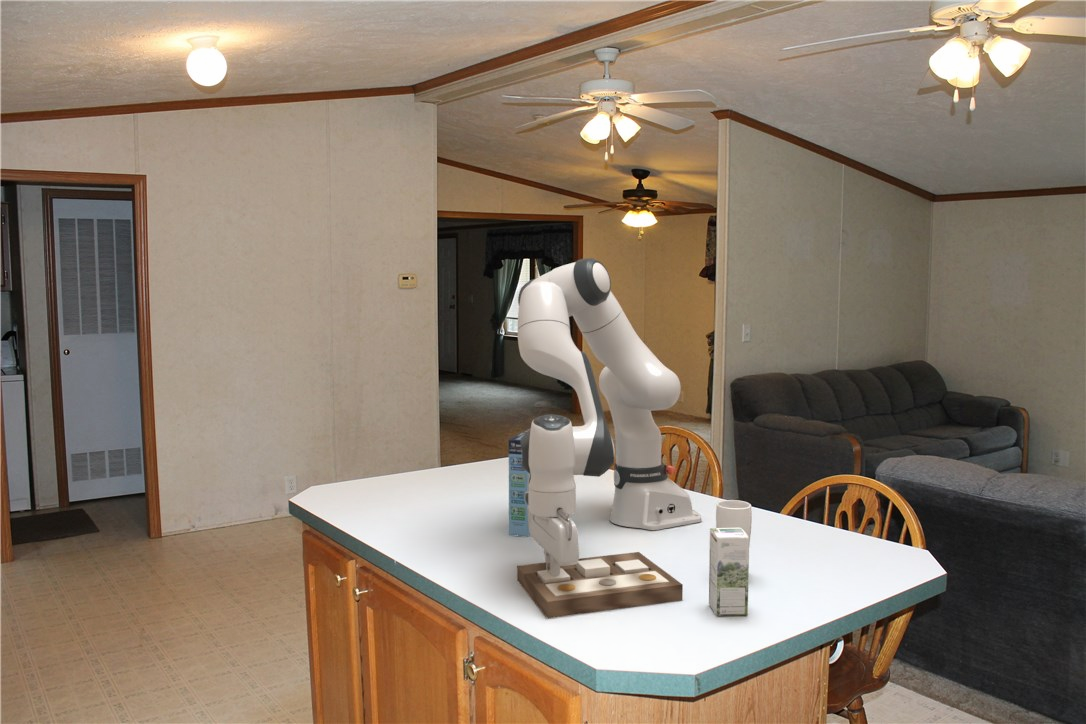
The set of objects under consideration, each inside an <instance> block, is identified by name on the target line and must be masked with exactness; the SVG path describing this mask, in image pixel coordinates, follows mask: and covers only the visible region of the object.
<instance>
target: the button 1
mask: <svg viewBox="0 0 1086 724" xmlns="http://www.w3.org/2000/svg"><path fill="white" fill-rule="evenodd" d="M537 577H538V578H539V579H540V580H541V581H542V582H543V583H549V582H557V581H565V580H570V576H569V575H568V574H567V573H566V572H565V571H564V570H563V569H562V568H560V575H559V576H551V575H550V573H549V572H548V571H547V570H543V571H537Z"/></svg>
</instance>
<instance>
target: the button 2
mask: <svg viewBox="0 0 1086 724" xmlns="http://www.w3.org/2000/svg"><path fill="white" fill-rule="evenodd" d="M615 567H616V568H617V569H619V570H620V571H621V572H622V573H631V572H640V571H648V570H649V567H647V566H646V565H645V564H644V563H642V562H641V561H640V560H629V561H621V562H615Z"/></svg>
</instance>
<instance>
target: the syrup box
mask: <svg viewBox="0 0 1086 724" xmlns="http://www.w3.org/2000/svg"><path fill="white" fill-rule="evenodd" d="M708 563H709V566H708V567H709V568H708V569H709V571H708V572H709V573H708V574H709V575H708V577H709V579H708V580H709V581H708V604H709V606H710V608H711V610H712V612H714V614H715V616H716V617H729V616H732V617H733V616H734V617H735V616H748V614H749V574H750V573H749V570H750V569H749V568H750V545H749V537H748V536H747V534H746V533H745V531H744V530H743V529H742V528H715V527H714V528H712V527H710V528H709V562H708Z"/></svg>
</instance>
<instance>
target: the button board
mask: <svg viewBox="0 0 1086 724" xmlns="http://www.w3.org/2000/svg"><path fill="white" fill-rule="evenodd" d="M600 558H601V559H602V560H603V561H604V562H605V563H607V564H608V565H609V566H610V575H607V576H598V577H590V578H583V577H582V576H581V575H580V574H579V573H578V572H577V564H575V565H567V566H560V568H562V569H563V570H564V571H565V572H566V573H567V574H568V575H569V576H570V580H565V581H557V582H549V583H543V582H542V581H541V580H540V579H539V578H538V577H537V571H543V570H547V569H546V561H545V562H539V563H530V564H529V563H528V564H520V565H516V570H517V571H516V575H517V576H516V577H517V578H516V579H517V580H516V581H517V582H518V583H519V584H520V586H521V587H522V588H523V590H524V591H525V592H526V593H527V595H529V597H530V598H531V599H532V601H533V602H534V603H535V605H536V606H537V607H538V608H539V609H540V611H541V613H543V615H544V616H545V617H546V618H547V619H551V618H552V619H553V618H561V617H568V616H569V617H570V616H575V615H583V614H589V613H590V614H591V613H597V612H604V611H613V610H619V609H627V608H634V607H636V608H637V607H644V606H650V605H657V604H666V603H672V602H673V603H674V602H680V601H683V592H684V591H683V585H684V584H682V583H681V582H680V581H679V580H677V579H676V578H675V577H673V576H672V575H671V574H670V573H668V572H666V571H665V570H664V569H663V568H662V567H660V566H658V565H657V564H656V563H654V562H653V561H652V560H651V559H649V558H647V557H646V556H645V555H644V554H643V553H641V552H640V551H636V552H635V551H634V552H626V553H617V554H609V555H608V554H607V555H601V556H589V557H581V558H580V557H579V560H578V561H582V560H591V559H600ZM629 560H640V561H641V562H642V563H644V564H645V565H646V566H647V567H649V570H648V571H640V572H631V573H622V572H621V571H620V570H619V569H617V568H616V567H615V562H621V561H629Z"/></svg>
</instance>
